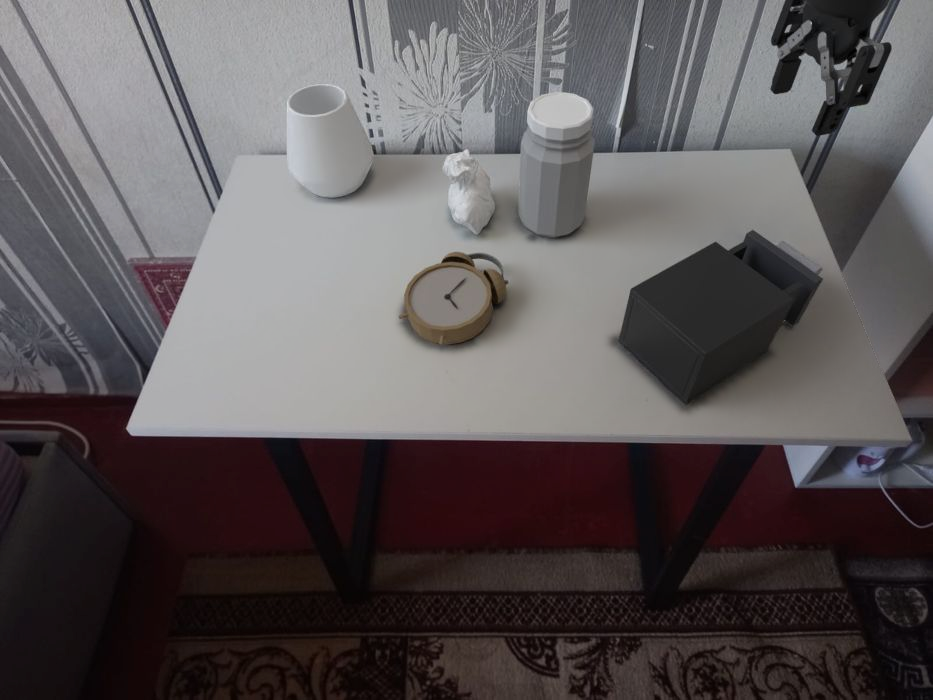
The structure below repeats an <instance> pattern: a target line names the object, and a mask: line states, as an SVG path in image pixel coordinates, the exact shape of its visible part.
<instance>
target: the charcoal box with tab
mask: <svg viewBox="0 0 933 700" xmlns="http://www.w3.org/2000/svg"><path fill="white" fill-rule="evenodd" d="M728 250H729V249H727V248H725V247H724V246H723V245H721V244H720V243H719V242H717V241H714V242H712V243H710V244H709V245H707V246H704V247H703V248H701V249H699V250H697V251H696V252H694V253H693V254H692V253H691V255H689V256H687V257H685V258H683V259H681V260H679V261H678V262H676V263H674V264H673V265H671V266H669V267H667V268H665V269H663V270H662V271H660V272H657V273H656V274H654V275H653V276H651V277H649V278H647V279H645V280H644V281H642V282H640V283H638V284H636V285H634V286H633V287H631V288H630V290H629V295H628V299H627V303H626V308H625V312H624V316H623V321H622V325H621V328H620V332H619V337H618V343H619V344H620V345H621V346H622V347H624V348H625V349H626V350H627V351H628V352H629V354H631V355H632V356H633V357H634V358H635V359H636V360H637V361H638V362H639V363H641V365H643V366H644V368H646V369H647V370H648V371H649V372H650V373H651V374H652V375H653V376H654V377H655V378H656V379H657V380H659V381H660V382H661V383H662V384H663V385H664V386H665V387H666V388H667V389H668V390H669V391H670V393H672V394H673V395H674V396H675V397H676V398H677V399H679V400H680V401H681V402H682V403H683V404H684V405H685V406H686V405H688V404H690V403H691V402H692V401H694V400H695V399H697V398H699V397H700V396H702V395H703V394H705V393H706V392H708V391H710V390H711V389H713V388H714V387H715V386H717V385H718V384H720V383H721V382H723V381H724V380H726V379H728V378H729V377H731V376H732V375H733V374H736V372H738V371H740V370H741V369H743V368H744V367H746V366H748V365H749V364H750V363H752V362H754V361H755V360H756V359H758V358H760V357H761V356H763V355H764V354H766V353H767V351H768V349H769V348H770V346H771V344H772V342H773V340H774V338H775V336H776V334H777V332H778V330H780V329H779V328H781V327H780V325H781V323H782V321H783V319H784V317H785V315H786V313H787V312H788V310H789V308H790V306H791V304H792V302H793V300H794V299H793V298H792V297H790V296H789V295H788V294H786V293H785V292H784V291H782V290H781V289H779V288H778V287H777V286H775V285H774V284H773V283H771V282H770V281H769V280H767V279H766V278H765V277H763V276H762V275H760V274H759V273H758V272H756V271H755V270H754V269H752V268H751V267H750V266H748V265H747V264H746V263H744V262H743V261H741V260H740V259H739V258H737V257H736V256H735V255H733V254H732V253H731V252H729V251H728Z"/></svg>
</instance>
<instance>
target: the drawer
mask: <svg viewBox="0 0 933 700" xmlns="http://www.w3.org/2000/svg"><path fill="white" fill-rule="evenodd" d="M727 250H728V251H729V252H731V253H732V254H733V255H735V256H736V257H737V258H739V259H740V260H741V261H743V262H744V263H746V264H747V265H748V266H750V267H751V268H752V269H754V270H755V271H756V272H758V273H759V274H760V275H762V276H763V277H765V278H766V279H767V280H769V281H770V282H771V283H773V284H774V285H775V286H777V287H778V288H779V289H781V290H782V291H784V292H785V293H786V294H788V295H789V296H790V297H792V298H793V299H794V300H793V302H792V304H791V306H790V308H789V310H788V312H787V313H786V315H785V317H784V319H783V321H782V323H781V325H780V327H779V328H781V327H782V326H783V325H784V322H786V323H787V324H788V325H790V326H791V327H794V326H796V325H797V324H798V323H800V321H801V319H802V317H803V316H804V314H805V313H806V311H807V309H808V306H809V305H810V303H811V302H812V299H813V298H814V296H815V294H816V292H817V290H818V289H819V287H820V286H821V283H822V282H823V280H824V278H823V277H822V276H820V274H821V273H822V271H823V267H822V266H821V265H820V264H819V263H816V262H815V261H814V260H812V259H811V258H809V257H808V256H806V255H805V254H803V253H801V252H800V251H799V250H797V249H796V248H794V247H793V246H792V245H790V244H789V243H787V242H786V241H784V240H780V241H779V242H777V244H774V243H773V242H771V241H770V240H769V239H767V238H766V237H764V236H763V235H761V234H760V233H758V232H757V231H755V230H754V229H752V230H750V231H748V232H746V234H745V236H744V239H743V241H742V242H740V243H739V244H737V245H735V246H733V247H731V248H730V249H727Z"/></svg>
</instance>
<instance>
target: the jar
mask: <svg viewBox="0 0 933 700" xmlns="http://www.w3.org/2000/svg"><path fill="white" fill-rule="evenodd" d="M594 111H595V108H594V106H593V105H592V104H591V102H590V101H589V99H587V98H584V97H582V96H580V95H578V94H576V93H574V92H563V91H554V92H550V93H543V94H540V96H539V95H538V96H537V97H536V98H534V99H533V100H531V101H530V103H529V105H528V108H527V112H526V124H527V127H526V130H525V131H524V133H523V136H522V138H521V142H520V154H519V155H520V156H519V158H520V159H519V160H520V161H519V183H518V184H519V185H518V212H517V213H518V216H519V218H520V221H521V222H522V223H521V224H522V225H523V226H524V227H525V228H527V229H528V230H529V231H531V232H533V233H534V234H535V235H537V236H539V237H545V238H553V239H554V238H559V237H564V236H568V235H569V234H571V233H572V232H574V231H575V230H576V229H578V228H579V227H581V225H583V224H584V219H585V215H586V209H587V202H588V195H589V187H590V181H591V175H592V174H591V173H592V167H593V166H592V165H593V157H594V151H595V145H596V144H595V143H596V140H595V138H594V137H593V135H592V128H593V127H592V123H593V120H594Z"/></svg>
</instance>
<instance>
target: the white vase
mask: <svg viewBox="0 0 933 700" xmlns="http://www.w3.org/2000/svg"><path fill="white" fill-rule="evenodd" d="M355 109H356V108H355V107H354V105H353V102H352V101H351V99H350V97H349V95H348V93H347V91H346V90H344V89H343V88H342V87H341V86H338V85H334V84H331V83H317V84H311V85H306V86H304V87H301V88H299V89H297V90H295V91H294V92H293V93H292V94H290V95H289V97H288V98H287V100H286V159H287V160H286V161H287V169H288V172H289V174H290V175H291V176H292V177H293V178H294V179H295V180H296V181H297V182H298V183H299V184H300V185H302V186H303V187H304V188H306V189H307V190H308V191H309V192H310V193H312V194H314V195H316V196H319V197H321V198H330V199H334V198H335V199H336V198H340V197H346V196H348V195H350V194H353V193H354V192H356V191H357V190H359V188H360V187H361V186H362V185H363V183H364V182H365V179H366V178H367V175H368V174H369V171H370V169H371V167H372V165H373V162H374V158H375V154H374V150H373V146H372V144H371V141H370V138H369V136H368V134H367V132H366V130H365V128H364V126H363V124H362V122H361V120H360V117H359V115H358V114H357V112H356V110H355Z"/></svg>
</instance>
